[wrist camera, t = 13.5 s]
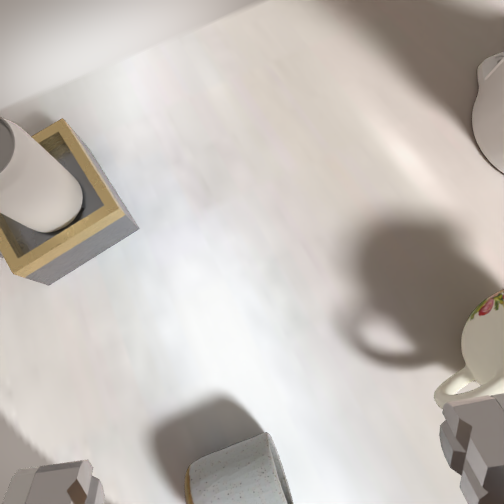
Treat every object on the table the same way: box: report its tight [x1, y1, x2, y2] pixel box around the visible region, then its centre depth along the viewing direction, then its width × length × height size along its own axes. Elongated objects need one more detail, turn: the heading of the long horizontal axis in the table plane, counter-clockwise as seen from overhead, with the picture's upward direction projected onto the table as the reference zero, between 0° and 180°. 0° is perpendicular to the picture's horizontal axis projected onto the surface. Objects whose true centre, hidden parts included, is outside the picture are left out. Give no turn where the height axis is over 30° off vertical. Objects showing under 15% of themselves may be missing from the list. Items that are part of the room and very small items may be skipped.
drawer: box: [0, 118, 139, 285], centre depth 46 cm, size 13×11×7 cm
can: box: [0, 117, 83, 233], centre depth 38 cm, size 6×6×12 cm
